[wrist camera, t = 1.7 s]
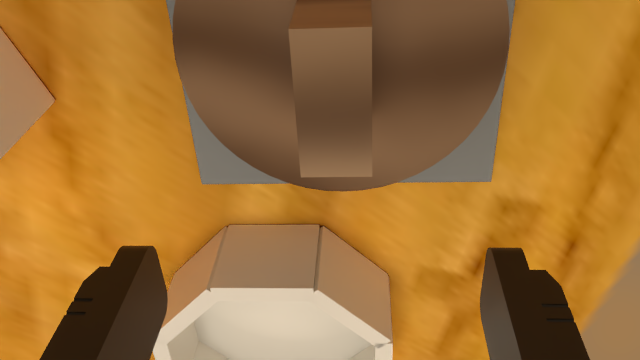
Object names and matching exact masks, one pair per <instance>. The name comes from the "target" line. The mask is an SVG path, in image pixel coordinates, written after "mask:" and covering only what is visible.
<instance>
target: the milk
mask: <svg viewBox="0 0 640 360" xmlns="http://www.w3.org/2000/svg"><path fill="white" fill-rule="evenodd" d="M54 102H55V99H54V97H53V96H52V95H51V94H50V92H49V91H48V90H47V88H46V87H45V86H44V84H43V83H42V82H41V80H40V79H39V78H38V76H37V75H36V74H35V73H34V71H33V70H32V69H31V67H30V66H29V65H28V63H27V62H26V61H25V59H24V58H23V57H22V55H21V54H20V53H19V52H18V50H17V49H16V48H15V46H14V45H13V44H12V42H11V41H10V40H9V38H8V37H7V36H6V35H5V33H4V32H3V31H2V29H1V28H0V159H1V158H2V157H3V156H4V155H5V154H6V153H7V152H8V151H9V150H10V148H11V147H12V146H13V145H14V144H15V143H16V142H17V141H18V140H19V139H20V138H21V137H22V136H23V135H24V134H25V133H26V132H27V131H28V130H29V128H30V127H31V126H32V125H33V124H34V123H35V122H36V121H37V120H38V119H39V118H40V117H41V116H42V115H43V114H44V113H45V112H46V111H47V109H48V108H49V107H50V106H51V105H52V104H53V103H54Z"/></svg>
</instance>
